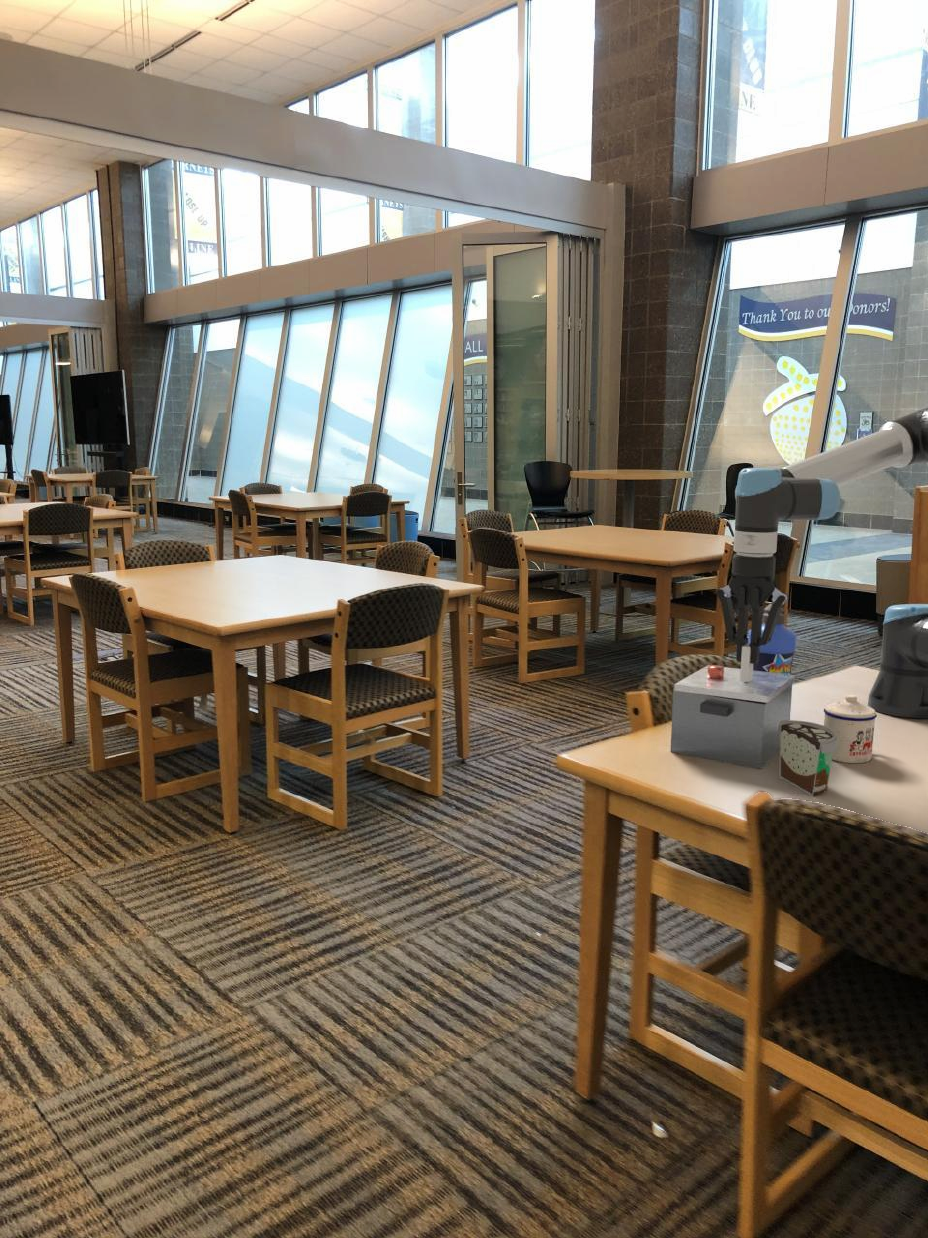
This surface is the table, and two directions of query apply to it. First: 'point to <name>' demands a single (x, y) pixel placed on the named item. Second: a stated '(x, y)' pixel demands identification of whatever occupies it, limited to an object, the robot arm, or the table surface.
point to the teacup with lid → (851, 729)
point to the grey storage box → (728, 727)
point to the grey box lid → (735, 683)
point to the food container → (806, 754)
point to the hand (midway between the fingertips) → (746, 679)
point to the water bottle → (776, 648)
